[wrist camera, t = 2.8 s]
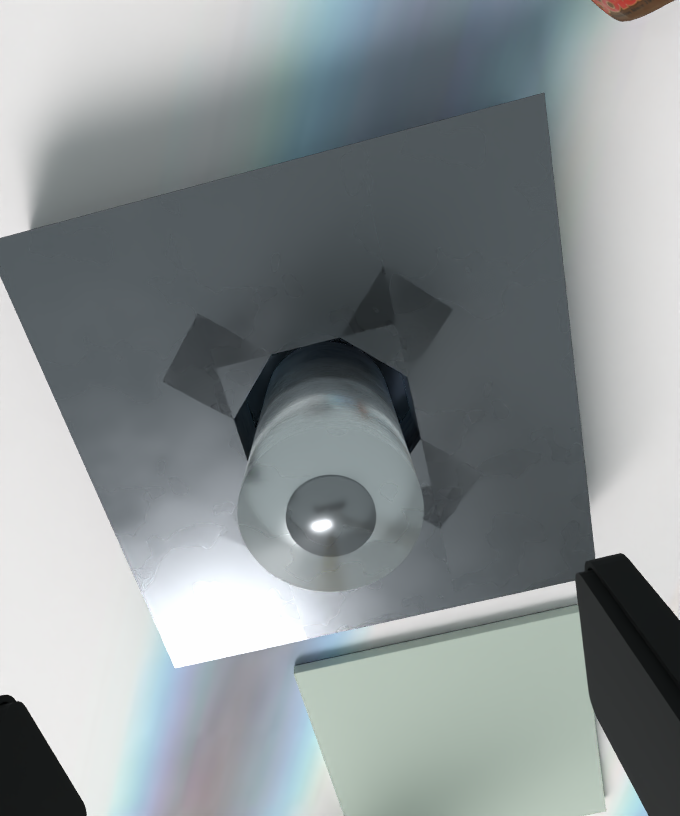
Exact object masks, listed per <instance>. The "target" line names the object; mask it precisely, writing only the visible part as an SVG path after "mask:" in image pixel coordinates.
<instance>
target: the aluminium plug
mask: <svg viewBox="0 0 680 816" xmlns="http://www.w3.org/2000/svg"><path fill="white" fill-rule="evenodd" d="M423 516H424V502H423V495H422V491H421V488H420V485H419V481H418V478H417V475H416V472H415V469H414V466H413V463H412V460H411V457H410V454H409V451H408V448H407V445H406V442H405V439H404V436H403V433H402V430H401V427H400V424H399V421H398V418H397V415H396V412H395V409H394V406H393V403H392V400H391V397H390V394H389V391H388V388H387V385H386V382H385V379H384V377H383V375H382V373H381V371H380V369H379V368H378V366H377V365H376V364H375V363H374V361H373V360H372V359H371V358H369V357H368V356H367V355H366V354H365V353H363V352H362V351H360V350H358V349H356V348H354V347H352V346H349V345H346V344H343V343H338V342H320V343H316V344H311V345H307V346H303V347H301V348H299V349H297V350H295V351H294V352H292V353H290V354H289V355H288V356H287V357H286V358H284V359H283V360H282V362H281V363H280V364H279V365H278V366H277V368H276V369H275V371H274V373H273V375H272V377H271V379H270V382H269V385H268V388H267V392H266V396H265V399H264V403H263V407H262V411H261V414H260V418H259V422H258V426H257V429H256V433H255V437H254V441H253V444H252V448H251V452H250V456H249V459H248V463H247V467H246V470H245V474H244V478H243V482H242V485H241V489H240V493H239V498H238V505H237V517H238V525H239V529H240V532H241V536H242V538H243V540H244V543H245V545H246V547H247V548H248V550H249V551H250V553H251V555H252V556H253V557H254V558H255V559H256V561H257V562H258V563H259V564H260V565H261V566H262V567H263V568H265V569H266V570H267V571H268V572H270V573H271V574H272V575H274V576H275V577H277V578H279V579H281V580H282V581H284V582H286V583H289V584H291V585H294V586H296V587H300V588H303V589H307V590H313V591H323V592H336V591H346V590H352V589H356V588H359V587H363V586H365V585H368V584H370V583H373V582H375V581H377V580H379V579H380V578H382V577H384V576H386V575H387V574H388V573H390V572H391V571H393V570H394V569H395V568H396V567H397V566H398V565H399V564H400V563H402V561H403V560H404V559H405V558H406V557H407V556H408V554H409V553H410V551H411V550H412V548H413V547H414V545H415V543H416V541H417V539H418V537H419V534H420V531H421V527H422V523H423Z"/></svg>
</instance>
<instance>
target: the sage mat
mask: <svg viewBox="0 0 680 816" xmlns="http://www.w3.org/2000/svg"><path fill="white" fill-rule="evenodd" d="M294 676H295V679H296V682H297V684H298V687H299V690H300V693H301V696H302V699H303V701H304V704H305V707H306V710H307V713H308V715H309V718H310V721H311V724H312V727H313V730H314V732H315V735H316V738H317V741H318V744H319V746H320V749H321V752H322V755H323V758H324V761H325V763H326V766H327V769H328V772H329V775H330V778H331V780H332V783H333V786H334V789H335V792H336V794H337V797H338V800H339V803H340V806H341V809H342V811H343V814H344V816H584V815H590V814H595V813H600V812H605V811H606V807H605V799H604V791H603V782H602V774H601V766H600V758H599V750H598V742H597V734H596V726H595V718H594V710H593V707H592V704H591V701H590V697H589V692H588V684H587V675H586V666H585V658H584V649H583V641H582V632H581V624H580V615H579V607H578V605H573V606H568V607H564V608H559V609H555V610H550V611H545V612H541V613H536V614H532V615H527V616H522V617H518V618H513V619H509V620H504V621H499V622H495V623H490V624H486V625H481V626H476V627H472V628H467V629H463V630H458V631H453V632H449V633H444V634H440V635H435V636H430V637H426V638H421V639H416V640H412V641H407V642H403V643H398V644H393V645H389V646H384V647H380V648H375V649H370V650H366V651H361V652H357V653H352V654H347V655H343V656H338V657H334V658H329V659H324V660H320V661H315V662H311V663H306V664H301V665H297V666H294Z"/></svg>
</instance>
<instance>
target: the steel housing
mask: <svg viewBox="0 0 680 816" xmlns="http://www.w3.org/2000/svg"><path fill="white" fill-rule="evenodd" d="M0 277H1V279H2V281H3V283H4V286H5V288H6V290H7V292H8V295H9V297H10V299H11V301H12V304H13V306H14V308H15V310H16V313H17V315H18V317H19V319H20V322H21V324H22V326H23V328H24V330H25V333H26V335H27V337H28V339H29V342H30V344H31V346H32V348H33V351H34V353H35V355H36V357H37V360H38V362H39V364H40V366H41V369H42V371H43V373H44V375H45V378H46V380H47V382H48V384H49V387H50V389H51V391H52V393H53V396H54V398H55V400H56V402H57V405H58V407H59V409H60V411H61V414H62V416H63V418H64V420H65V423H66V425H67V427H68V429H69V431H70V434H71V436H72V438H73V440H74V443H75V445H76V447H77V449H78V452H79V454H80V456H81V458H82V461H83V463H84V465H85V467H86V470H87V472H88V474H89V476H90V479H91V481H92V483H93V485H94V488H95V490H96V492H97V494H98V497H99V499H100V501H101V503H102V506H103V508H104V510H105V512H106V515H107V517H108V519H109V521H110V524H111V526H112V528H113V530H114V532H115V535H116V537H117V539H118V541H119V544H120V546H121V548H122V550H123V553H124V555H125V557H126V559H127V562H128V564H129V566H130V568H131V571H132V573H133V575H134V577H135V580H136V582H137V584H138V586H139V589H140V591H141V593H142V595H143V598H144V600H145V602H146V604H147V607H148V609H149V611H150V613H151V616H152V618H153V620H154V622H155V624H156V627H157V629H158V631H159V633H160V636H161V638H162V640H163V642H164V645H165V647H166V649H167V651H168V654H169V656H170V658H171V660H172V663H173V665H174V667H175V668H179V667H183V666H188V665H192V664H197V663H201V662H206V661H210V660H215V659H220V658H224V657H229V656H233V655H238V654H242V653H247V652H251V651H256V650H261V649H265V648H270V647H274V646H279V645H283V644H288V643H292V642H297V641H302V640H306V639H311V638H315V637H320V636H324V635H329V634H333V633H338V632H343V631H347V630H352V629H356V628H361V627H365V626H370V625H374V624H379V623H384V622H388V621H393V620H397V619H402V618H406V617H411V616H415V615H420V614H425V613H429V612H434V611H438V610H443V609H447V608H452V607H456V606H461V605H466V604H470V603H475V602H479V601H484V600H488V599H493V598H497V597H502V596H506V595H511V594H516V593H520V592H525V591H529V590H534V589H538V588H543V587H547V586H552V585H557V584H561V583H566V582H570V581H575V575H576V573H579V572H584V571H585V562H586V561H589V560H593V559H595V552H594V542H593V533H592V524H591V515H590V506H589V497H588V487H587V478H586V469H585V460H584V451H583V442H582V433H581V423H580V414H579V405H578V396H577V387H576V378H575V368H574V359H573V350H572V341H571V332H570V323H569V313H568V304H567V295H566V286H565V277H564V268H563V259H562V249H561V240H560V231H559V222H558V213H557V204H556V194H555V185H554V176H553V167H552V158H551V149H550V140H549V130H548V121H547V112H546V103H545V94H544V93H541V94H537V95H534V96H530V97H526V98H522V99H519V100H515V101H511V102H508V103H504V104H500V105H496V106H493V107H489V108H485V109H481V110H478V111H474V112H470V113H466V114H463V115H459V116H455V117H451V118H448V119H444V120H440V121H436V122H433V123H429V124H425V125H421V126H418V127H414V128H410V129H407V130H403V131H399V132H395V133H392V134H388V135H384V136H380V137H377V138H373V139H369V140H365V141H362V142H358V143H354V144H350V145H347V146H343V147H339V148H335V149H332V150H328V151H324V152H320V153H317V154H313V155H309V156H305V157H302V158H298V159H294V160H291V161H287V162H283V163H279V164H276V165H272V166H268V167H264V168H261V169H257V170H253V171H249V172H246V173H242V174H238V175H234V176H231V177H227V178H223V179H219V180H216V181H212V182H208V183H204V184H201V185H197V186H193V187H190V188H186V189H182V190H178V191H175V192H171V193H167V194H163V195H160V196H156V197H152V198H148V199H145V200H141V201H137V202H133V203H130V204H126V205H122V206H118V207H115V208H111V209H107V210H103V211H100V212H96V213H92V214H88V215H85V216H81V217H77V218H74V219H70V220H66V221H62V222H59V223H55V224H51V225H47V226H44V227H40V228H36V229H32V230H29V231H25V232H21V233H17V234H14V235H10V236H6V237H2V238H0ZM336 338H342V339H344V340H345V341H347V342H349V343H350V344H352V345H354V346H355V347H357V348H359V349H361V350H362V351H364V352H366V353H367V354H369V355H371V356H373V357H374V358H376V359H378V360H379V361H381V362H383V363H385V364H386V365H388V366H390V367H391V368H393V369H395V370H397V371H398V372H400V373H402V377H403V382H404V386H405V391H406V396H407V400H408V405H409V409H410V410H409V412H408V413H407V414H406V416H405V417H404V419H403V420H402V422H401V423H400V427H401V430H402V433H403V436H404V439H405V442H406V445H407V448H408V451H409V454H410V457H411V460H412V463H413V466H414V469H415V472H416V475H417V478H418V481H419V485H420V488H421V491H422V495H423V502H424V516H423V523H422V527H421V531H420V534H419V537H418V539H417V541H416V543H415V545H414V547H413V548H412V550H411V551H410V553H409V554H408V556H407V557H406V558H405V559H404V560H403V561H402V563H400V564H399V565H398V566H397V567H396V568H395V569H394V570H393V571H391V572H390V573H388V574H387V575H386V576H384V577H382V578H380V579H379V580H377V581H375V582H373V583H370V584H368V585H365V586H363V587H359V588H356V589H352V590H346V591H336V592H323V591H313V590H307V589H303V588H300V587H296V586H294V585H291V584H289V583H286V582H284V581H282V580H281V579H279V578H277V577H275V576H274V575H272V574H271V573H270V572H268V571H267V570H266V569H265V568H263V567H262V566H261V565H260V564H259V563H258V562H257V561H256V559H255V558H254V557H253V556H252V555H251V553H250V551H249V550H248V548H247V547H246V545H245V543H244V540H243V538H242V536H241V532H240V529H239V525H238V517H237V505H238V498H239V493H240V489H241V485H242V482H243V478H244V474H245V470H246V467H247V463H248V459H249V456H250V452H251V448H252V444H253V441H254V437H255V433H256V428H255V425H254V422H253V419H252V416H251V413H250V410H249V407H248V404H247V401H246V397H247V396H248V394H249V392H250V390H251V389H252V387H253V385H254V384H255V382H256V380H257V378H258V377H259V375H260V373H261V371H262V370H263V368H264V366H265V365H266V363H267V361H268V359H269V358H270V356H271V354H275V353H279V352H283V351H287V350H291V349H295V348H299V347H303V346H307V345H311V344H316V343H320V342H324V341H328V340H332V339H336Z"/></svg>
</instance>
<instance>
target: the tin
mask: <svg viewBox="0 0 680 816" xmlns="http://www.w3.org/2000/svg"><path fill="white" fill-rule="evenodd" d="M591 1H593V2H594V3H595V4H596V5H597V6H598V7H599V8H600V9H602V10H603V11H604V12H605V13H607V14H608V15H610V16H611V17H613V18H614V19H616V20H618V21H622V22H623V21H631V20H634V19H637V18H640V17H643V16H645V15H647V14H649V13H651V12H653V11H655V10H657V9H659V8H661V7H663V6H664V5H666V4H668V3H670V2H672V1H674V0H591Z"/></svg>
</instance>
